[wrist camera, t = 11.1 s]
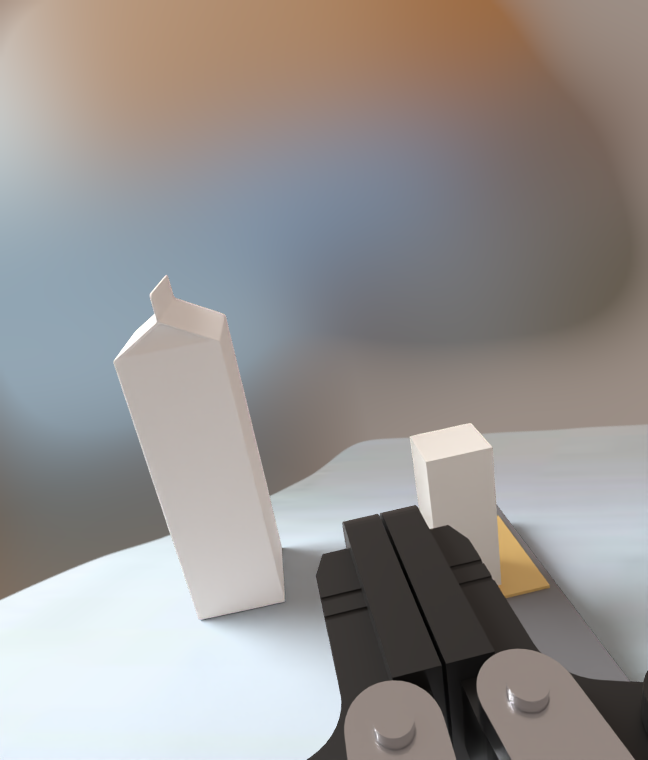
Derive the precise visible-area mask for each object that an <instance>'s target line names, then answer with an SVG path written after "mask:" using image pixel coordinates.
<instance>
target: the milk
mask: <svg viewBox="0 0 648 760" xmlns="http://www.w3.org/2000/svg"><path fill="white" fill-rule="evenodd" d="M150 299H151V303H152V306H153V310H154V313H155V314H154V315H153V316H152V317H151V318H150V319H149V320H147V322H145V323H144V324H143V325H142V326H141V327H140V328H139V329H138V330H137V331H135V333H134V334H133V336H132V337H131V338H130V340H129V341H128V342H127V344H126V345H125V346H124V348H123V349H122V350H121V352H120V353H119V355H118V356H117V357H116V359H115V360H114V365H115V369H116V371H117V375H118V378H119V381H120V384H121V387H122V390H123V393H124V396H125V399H126V402H127V405H128V408H129V411H130V414H131V417H132V420H133V423H134V426H135V429H136V432H137V435H138V438H139V441H140V444H141V447H142V450H143V453H144V456H145V459H146V462H147V465H148V468H149V471H150V474H151V477H152V480H153V483H154V486H155V489H156V492H157V495H158V498H159V501H160V505H161V507H162V511H163V514H164V517H165V519H166V523H167V526H168V529H169V532H170V535H171V538H172V541H173V544H174V547H175V550H176V553H177V556H178V559H179V562H180V565H181V568H182V571H183V574H184V577H185V580H186V583H187V586H188V589H189V592H190V595H191V598H192V601H193V604H194V607H195V610H196V613H197V616H198V619H199V620H203V619H207V618H212V617H217V616H221V615H226V614H230V613H235V612H240V611H244V610H249V609H254V608H258V607H263V606H267V605H272V604H277V603H281V602H284V601H285V591H284V575H283V559H282V545H281V541H280V537H279V533H278V529H277V525H276V521H275V516H274V512H273V508H272V504H271V500H270V496H269V492H268V488H267V484H266V480H265V475H264V472H263V467H262V463H261V459H260V455H259V451H258V447H257V442H256V438H255V435H254V430H253V426H252V422H251V418H250V414H249V410H248V405H247V401H246V397H245V393H244V389H243V385H242V381H241V377H240V373H239V368H238V364H237V360H236V356H235V352H234V348H233V344H232V340H231V336H230V332H229V328H228V323H227V320H226V316H225V315H224V314H222V313H219V312H216V311H213V310H210V309H207V308H204V307H201V306H198V305H195V304H192V303H189V302H186V301H183V300H180V299H177V298H175V297H174V295H173V292H172V288H171V285H170V282H169V278H168V276H167V275H166V276H165V277H164V278H163V279H162V280H161V281H160V282H159V284H158V285H157V286H156V287H155V288H154V290H153V291H152V292H151V293H150Z"/></svg>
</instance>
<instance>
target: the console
mask: <svg viewBox="0 0 648 760" xmlns="http://www.w3.org/2000/svg"><path fill="white" fill-rule="evenodd" d="M496 509H497V525H498V541H499V556H500V572H501V585H498V587H499V588H500V590H501V591H502V593H503V595H504V596H505V598H506V600H507V601H508V603H509V604H510V606H511V608H512V609H513V611H514V612H515V614H516V616H517V617H518V619H519V620H520V622H521V624H522V625H523V627H524V628H525V630H526V632H527V633H528V635H529V637H530V638H531V640H532V641H533V643H534V644H535V646H536V647H537V648H538V650H539V651H540V652H541V653H542V654H545V655H547V656H549V657H551V658H552V659H554V660H555V661H557V662H558V663H560V664H561V665H562V666H563V667H564V668H565V669H566V670H567V671H568V672H570V673H573V674H575V675H578V676H581V677H586V678H590V679H598V680H612V681H629V682H630V680H629V679H628V678H627V677H626V675H625V674H624V673H623V671H622V670H621V669H620V667H619V666H618V665H617V663H616V662H615V661H614V659H613V658H612V657H611V655H610V654H609V653H608V651H607V650H606V649H605V647H604V646H603V645H602V643H601V642H600V641H599V639H598V638H597V637H596V635H595V634H594V633H593V632H592V630H591V629H590V628H589V626H588V625H587V624H586V622H585V621H584V620H583V618H582V617H581V616H580V614H579V613H578V612H577V610H576V609H575V608H574V606H573V605H572V604H571V602H570V601H569V600H568V598H567V597H566V596H565V594H564V593H563V592H562V590H561V589H560V588H559V586H558V585H557V584H556V583H555V581H554V580H553V579H552V577H551V576H550V575H549V573H548V572H547V571H546V569H545V568H544V567H543V565H542V564H541V563H540V561H539V560H538V559H537V557H536V556H535V555H534V553H533V552H532V551H531V549H530V548H529V547H528V545H527V544H526V543H525V541H524V540H523V539H522V537H521V536H520V535H519V534H518V532H517V531H516V530H515V528H514V527H513V526H512V524H511V523H510V522H509V520H508V519H507V518H506V516H505V515H504V514H503V512H502V511H501V510H500V508H499V507H498V506H497V504H496Z"/></svg>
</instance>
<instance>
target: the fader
mask: <svg viewBox="0 0 648 760" xmlns="http://www.w3.org/2000/svg"><path fill="white" fill-rule="evenodd" d="M410 442H411V450H412V458H413V466H414V474H415V482H416V490H417V498H418V506H419V510H420V512H421V514H422V516H423V518H424V520H425V522H426V523H427V525H428V527H429V529H432V528H437V527H441V526H445V525H449V526H451V527H452V528H454V529H455V530H457V531H458V532H459V533H461V534H462V535H464V536H465V537H467V538H468V539H469V540H470V542H471V543H472V545H473V546H474V548H475V550H476V551H477V553H478V554H479V556H480V558H481V560H482V563H484V564H485V566H486V567H487V569H488V571H489V572H490V574H491V575H492V579H493V580H495V582H496V583H497V585H501V572H500V556H499V541H498V525H497V509H496V494H495V478H494V463H493V447H492V446H491V445H490V444H489V443H488V442H487V441H486V439H485V438H484V437H483V436H482V435H481V434H480V433H479V432H478V431H477V429H476V428H475V427H474V426H473V425H472V424H471V423H468V424H464V425H459V426H454V427H450V428H445V429H441V430H436V431H432V432H427V433H423V434H418V435H414V436H410Z"/></svg>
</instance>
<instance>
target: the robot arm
mask: <svg viewBox="0 0 648 760" xmlns="http://www.w3.org/2000/svg"><path fill="white" fill-rule="evenodd" d="M342 524H343V532H344V537H345V543H346V549H343V550H339V551H335V552H330V553H326V554H323V555H322V558H321V561H320V564H319V568H318V571H317V574H316V578H317V583H318V588H319V593H320V598H321V603H322V608H323V612H324V617H325V622H326V627H327V632H328V637H329V642H330V646H331V651H332V656H333V661H334V666H335V670H336V675H337V680H338V685H339V690H340V694H341V701H342V702H341V713H340V718H339V721H338V724H337V726H336V729H335V730H334V732H333V734H332V736H331V737H330V739H329V740H328V741H327V743H326V744H325V745H324V746H323V747H322V748H321V749H320V750H319V751H318V752H317V753H315V754H314V755H313V756H311V757H310V758H308V759H307V760H648V671H647V673H646V675H645V678H644V682H629V681H612V680H598V679H590V678H586V677H581V676H578V675H575V674H573V673H570V672H568V671H567V670H566V669H565V668H564V667H563V666H562V665H561V664H560V663H558V662H557V661H555V660H554V659H552V658H551V657H549V656H547V655H545V654H542V653H541V652H540V651H539V650H538V648H537V647H536V646H535V644H534V643H533V641H532V640H531V638H530V637H529V635H528V633H527V632H526V630H525V628H524V627H523V625H522V624H521V622H520V620H519V619H518V617H517V616H516V614H515V612H514V611H513V609H512V608H511V606H510V604H509V603H508V601H507V600H506V598H505V596H504V595H503V593H502V591H501V590H500V588H499V587H498V585H497V583H496V582H495V580H493V579H492V575H491V574H490V572H489V571H488V569H487V567H486V566H485V564H484V563H482V560H481V558H480V556H479V554H478V553H477V551H476V550H475V548H474V546H473V545H472V543H471V542H470V540H469V539H468V538H467V537H465V536H464V535H462V534H461V533H459V532H458V531H457V530H455V529H454V528H452V527H451V526H449V525H445V526H441V527H437V528H432V529H429V527H428V525H427V523H426V522H425V520H424V518H423V516H422V514H421V512H420V510H419V509H418V507H417V506H416V505H414V506H410V507H405V508H401V509H396V510H392V511H388V512H383V513H380V516H379V515H378V514H375V515H371V516H367V517H362V518H358V519H354V520H349V521H345V522H343V523H342Z"/></svg>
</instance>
